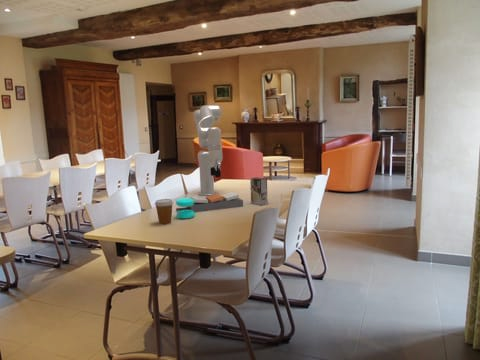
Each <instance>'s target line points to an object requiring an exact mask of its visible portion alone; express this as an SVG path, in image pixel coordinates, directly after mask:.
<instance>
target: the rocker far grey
mask: <svg viewBox="0 0 480 360" xmlns="http://www.w3.org/2000/svg"><path fill="white" fill-rule="evenodd" d="M220 195H221V196H223V199H224V200H226V201H228V200H232V199H235V198H240V195H239V193H236V192H234V191H231V192H227V193H224V194H220Z"/></svg>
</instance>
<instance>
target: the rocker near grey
mask: <svg viewBox="0 0 480 360" xmlns="http://www.w3.org/2000/svg"><path fill="white" fill-rule="evenodd" d="M190 198H191V199H193V200H194V202H198V203H208V200H207V199H206V197H205V196H194V195H190Z"/></svg>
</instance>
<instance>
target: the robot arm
mask: <svg viewBox="0 0 480 360" xmlns="http://www.w3.org/2000/svg"><path fill="white" fill-rule="evenodd" d="M222 113H223V111H222V108H221V106H220V105H218V104H213V105H212V104H211V105H207V104H205V105H202V106H201V107H200V108H199V109H196V110H195V111H194V112H193V118H194V119H193V120H194V123H195V125H196V132H197V136H198V145H199V147H200V148H201V149H203V150H200V151H198V153H197V161H198V165H199V166H198V167H199V168H198V169H199V183H200V186H199V187H200V191H199V192H198V195H199V196H200V197H207V196H210V195H214V194H217V191H216V190H215V186H214V185H215V184H214V182H215V181H214V178H221V177H222V176H221V175H222V173H221V166H222V165H221V164H222V162H223V159H224V158H223V144H222V137H221V136H222V132H221V129H220V128H219V127H217V126H214V127H213V125H214V124H215V122H218V121H219V120H220V118H221V117H222ZM214 176H215V177H214Z"/></svg>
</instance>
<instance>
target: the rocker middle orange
mask: <svg viewBox="0 0 480 360" xmlns="http://www.w3.org/2000/svg"><path fill="white" fill-rule="evenodd" d="M221 195H222V194H219V193H217V192H216V194H214V195H210V196H205V199H207V200H208V201H209V202H211V203H212V202H215V201H219V200H222V199H223V196H221Z"/></svg>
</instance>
